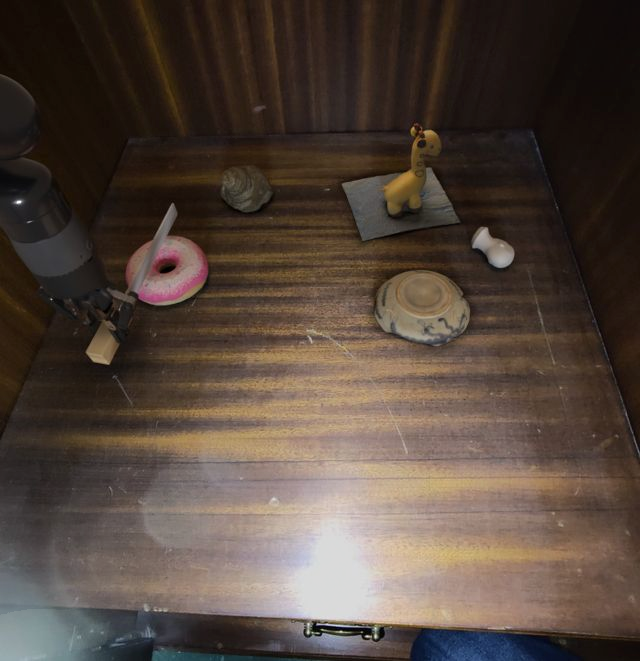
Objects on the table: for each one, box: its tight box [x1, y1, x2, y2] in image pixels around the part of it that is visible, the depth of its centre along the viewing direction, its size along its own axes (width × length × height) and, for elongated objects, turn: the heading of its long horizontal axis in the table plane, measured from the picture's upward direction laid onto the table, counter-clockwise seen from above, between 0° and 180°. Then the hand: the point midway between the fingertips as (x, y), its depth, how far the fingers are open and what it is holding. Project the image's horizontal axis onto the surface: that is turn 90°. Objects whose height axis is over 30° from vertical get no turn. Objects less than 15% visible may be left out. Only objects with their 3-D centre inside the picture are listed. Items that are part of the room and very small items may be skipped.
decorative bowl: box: [373, 269, 471, 347], centre depth 80 cm, size 15×4×15 cm
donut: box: [125, 235, 209, 306], centre depth 85 cm, size 14×13×5 cm
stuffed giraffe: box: [341, 123, 461, 242], centre depth 90 cm, size 16×18×16 cm
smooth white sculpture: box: [470, 226, 515, 269], centre depth 86 cm, size 4×8×5 cm
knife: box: [85, 202, 178, 365], centre depth 77 cm, size 29×2×3 cm, turn 168°
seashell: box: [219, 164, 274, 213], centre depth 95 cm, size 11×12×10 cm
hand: (113, 336), depth 73 cm, fingers closed on knife, 2 cm apart
